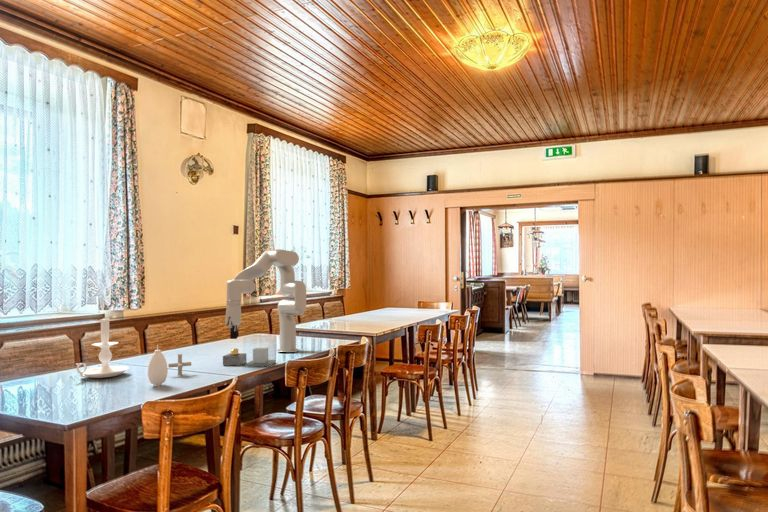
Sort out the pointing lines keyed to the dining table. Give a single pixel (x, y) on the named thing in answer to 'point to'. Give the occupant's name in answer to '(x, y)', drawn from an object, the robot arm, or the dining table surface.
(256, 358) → the block
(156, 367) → the egg shaped candle
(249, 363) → the press bed
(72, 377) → the dining table surface
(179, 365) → the pipe connector
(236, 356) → the block
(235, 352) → the brass pin
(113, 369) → the candlestick
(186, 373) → the dining table surface
